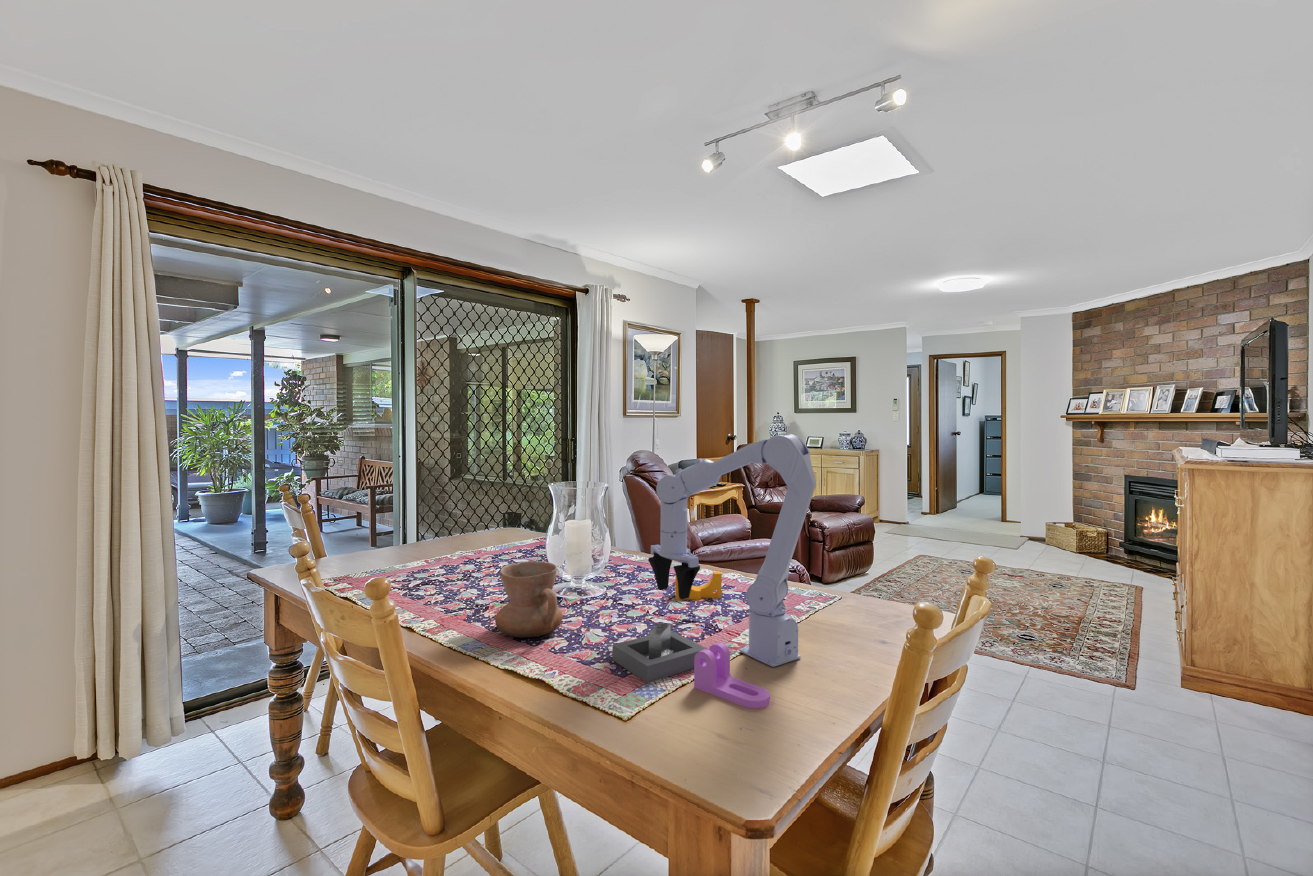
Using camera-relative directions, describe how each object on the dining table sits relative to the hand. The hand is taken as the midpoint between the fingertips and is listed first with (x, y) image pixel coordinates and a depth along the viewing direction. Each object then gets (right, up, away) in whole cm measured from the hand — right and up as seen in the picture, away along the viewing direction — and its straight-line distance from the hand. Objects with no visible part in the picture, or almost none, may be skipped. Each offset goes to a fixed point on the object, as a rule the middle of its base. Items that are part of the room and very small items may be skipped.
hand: (673, 593), depth 127 cm
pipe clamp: (+7, -9, +29) cm, 31 cm away
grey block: (-3, -9, -13) cm, 16 cm away
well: (-3, -10, -13) cm, 16 cm away
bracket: (+10, -11, -25) cm, 29 cm away
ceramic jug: (-31, -9, +3) cm, 33 cm away
